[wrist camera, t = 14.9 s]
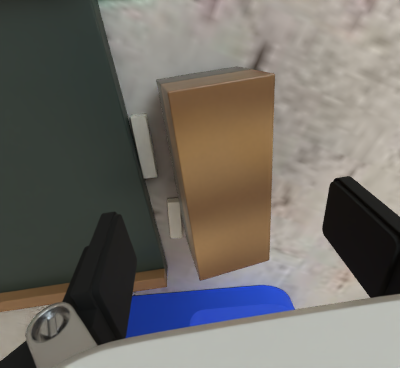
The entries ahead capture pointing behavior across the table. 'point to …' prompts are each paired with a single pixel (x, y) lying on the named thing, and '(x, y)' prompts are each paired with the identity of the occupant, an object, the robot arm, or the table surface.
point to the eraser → (222, 163)
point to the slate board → (64, 152)
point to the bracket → (202, 307)
